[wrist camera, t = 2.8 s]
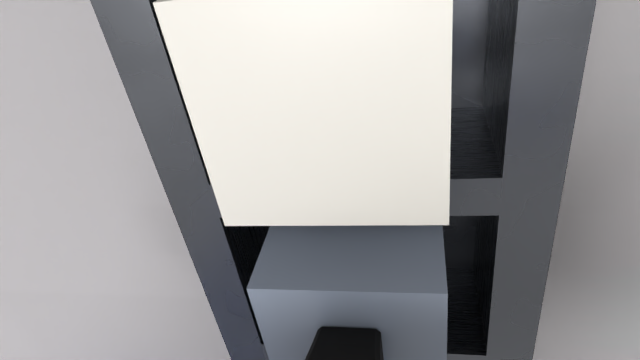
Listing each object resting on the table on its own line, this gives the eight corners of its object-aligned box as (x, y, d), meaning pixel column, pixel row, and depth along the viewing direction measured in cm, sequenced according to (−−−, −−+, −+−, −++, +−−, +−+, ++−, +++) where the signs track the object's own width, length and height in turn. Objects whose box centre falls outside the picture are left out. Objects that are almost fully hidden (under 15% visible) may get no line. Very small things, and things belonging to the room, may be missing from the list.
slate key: (440, 314, 14) (446, 412, 12) (303, 310, 15) (281, 399, 12) (440, 201, 12) (447, 294, 9) (278, 204, 13) (246, 289, 10)
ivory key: (440, 139, 11) (449, 225, 8) (264, 146, 12) (225, 225, 9) (441, -67, 8) (453, -32, 6) (220, -38, 9) (152, 2, 7)
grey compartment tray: (494, 384, 20) (509, 485, 17) (291, 371, 22) (271, 460, 19) (560, -213, 9) (639, -246, 6) (147, -137, 11) (38, -131, 8)
